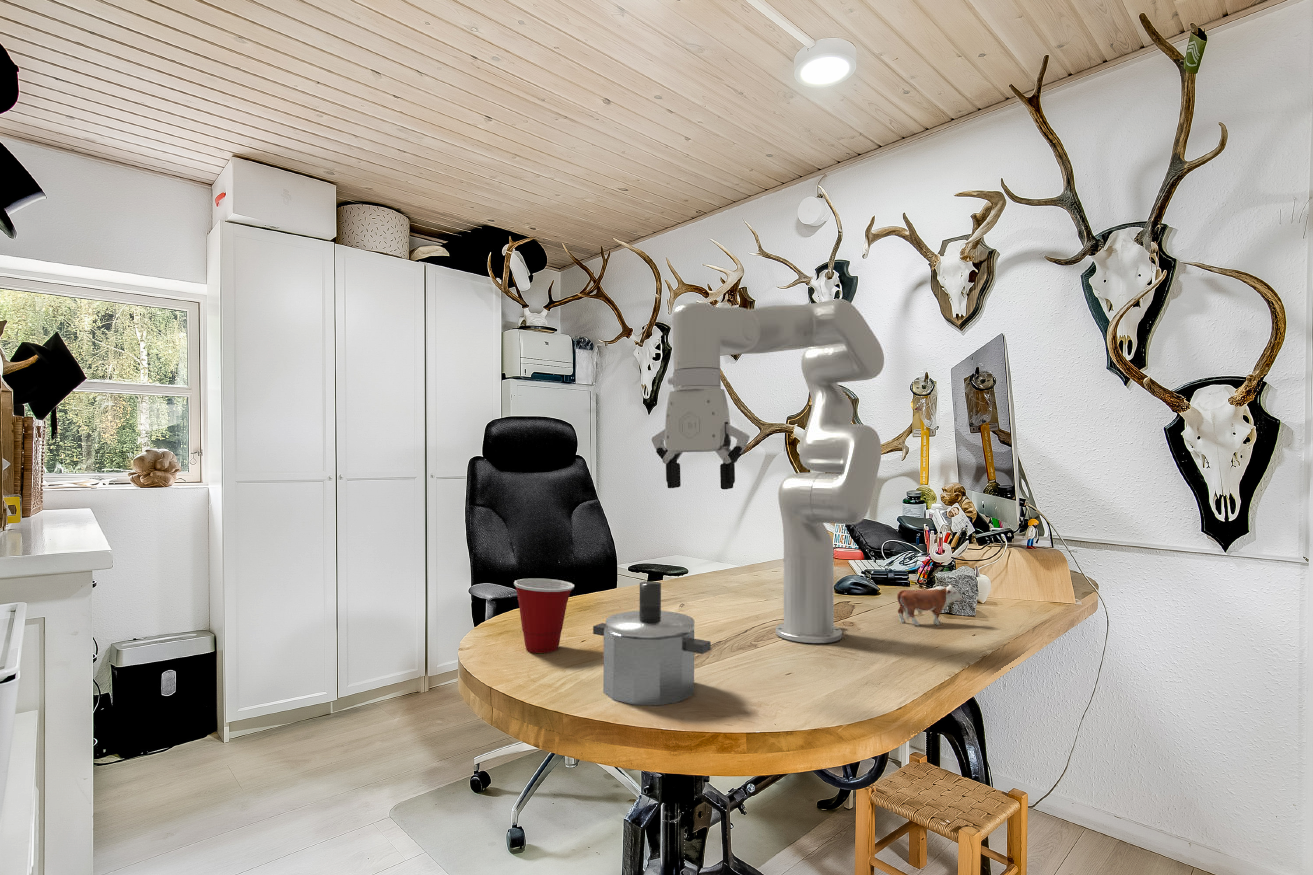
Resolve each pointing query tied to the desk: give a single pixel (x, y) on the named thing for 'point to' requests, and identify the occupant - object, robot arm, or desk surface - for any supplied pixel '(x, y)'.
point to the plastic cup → (542, 612)
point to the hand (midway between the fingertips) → (699, 488)
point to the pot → (649, 667)
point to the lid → (650, 618)
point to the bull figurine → (925, 602)
